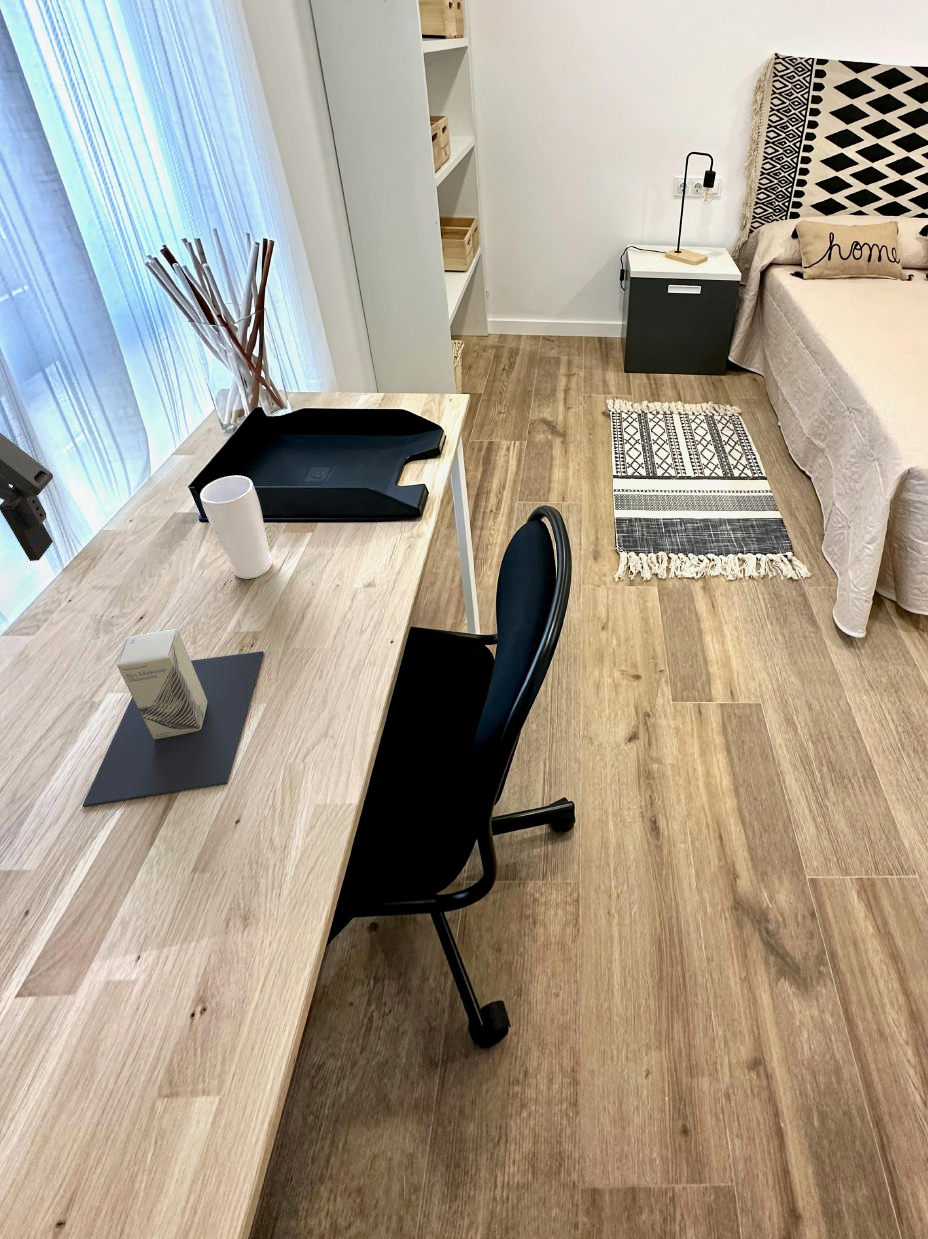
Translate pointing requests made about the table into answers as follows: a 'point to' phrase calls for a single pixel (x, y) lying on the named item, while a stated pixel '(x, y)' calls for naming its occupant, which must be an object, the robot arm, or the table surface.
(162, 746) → the dark blue mat
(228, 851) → the table surface
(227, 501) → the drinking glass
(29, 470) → the robot arm
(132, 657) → the box
